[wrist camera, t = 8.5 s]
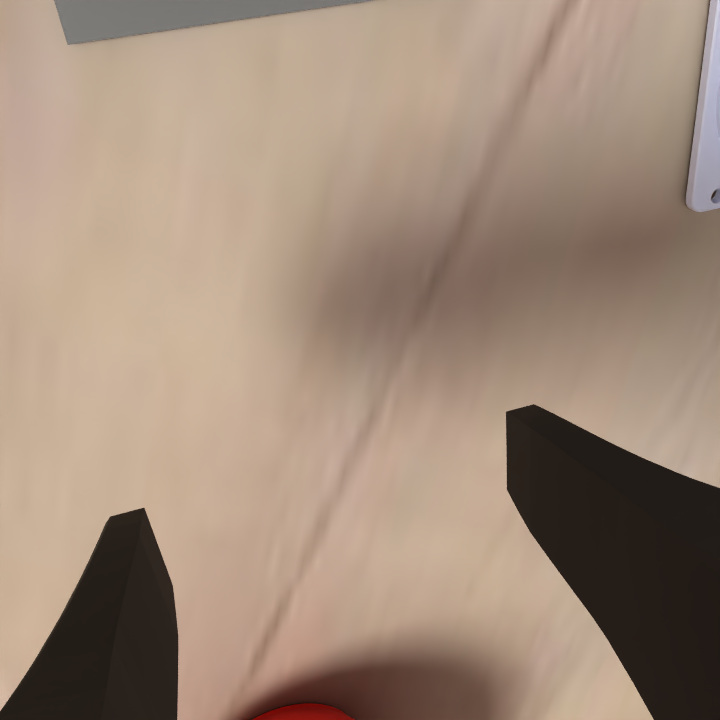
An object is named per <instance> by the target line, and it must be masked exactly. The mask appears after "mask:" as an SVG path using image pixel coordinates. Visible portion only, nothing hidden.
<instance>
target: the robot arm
mask: <svg viewBox="0 0 720 720" xmlns="http://www.w3.org/2000/svg"><path fill="white" fill-rule="evenodd" d="M715 190H716V194H715V196H714V197H713V198H712V199H711V196H712V193H713V192H714V191H715ZM686 205H687V206H688V208H690V209H691V210H694V211H696V212H705V211H710V210H714V209H719V208H720V0H710V9H709V17H708V25H707V33H706V41H705V49H704V57H703V65H702V73H701V81H700V89H699V97H698V105H697V113H696V121H695V129H694V137H693V145H692V153H691V161H690V169H689V177H688V185H687V193H686ZM506 439H507V491H508V492H509V494H510V496H511V498H512V500H513V502H514V504H515V506H516V508H517V509H518V511H519V513H520V515H521V517H522V519H523V520H524V522H525V524H526V526H527V527H528V529H529V531H530V532H531V534H532V535H533V537H534V538H535V539H536V541H537V542H538V544H539V545H540V546H541V548H542V549H543V550H544V552H545V553H546V555H547V556H548V557H549V559H550V560H551V562H552V563H553V564H554V566H555V567H556V568H557V570H558V571H559V572H560V574H561V575H562V576H563V578H564V579H565V580H566V582H567V583H568V585H569V586H570V587H571V589H572V590H573V591H574V593H575V594H576V595H577V597H578V598H579V599H580V601H581V602H582V603H583V605H584V606H585V608H586V609H587V610H588V612H589V613H590V614H591V616H592V617H593V618H594V620H595V621H596V623H597V624H598V626H599V627H600V629H601V630H602V632H603V633H604V635H605V636H606V638H607V639H608V641H609V643H610V644H611V646H612V648H613V649H614V651H615V653H616V654H617V656H618V658H619V659H620V661H621V663H622V665H623V666H624V668H625V670H626V671H627V673H628V675H629V676H630V678H631V680H632V681H633V683H634V685H635V687H636V689H637V690H638V692H639V694H640V696H641V697H642V699H643V701H644V703H645V705H646V706H647V708H648V710H649V712H650V713H651V715H652V717H653V719H654V720H720V488H717V487H715V486H712V485H709V484H706V483H703V482H700V481H697V480H695V479H692V478H689V477H687V476H684V475H682V474H679V473H677V472H674V471H672V470H669V469H667V468H665V467H662V466H660V465H658V464H655V463H653V462H651V461H648V460H646V459H644V458H642V457H639V456H637V455H635V454H633V453H631V452H629V451H626V450H624V449H622V448H620V447H618V446H616V445H614V444H612V443H610V442H608V441H606V440H604V439H602V438H600V437H598V436H596V435H594V434H592V433H590V432H588V431H586V430H584V429H582V428H580V427H578V426H576V425H574V424H572V423H571V422H569V421H567V420H565V419H563V418H561V417H559V416H557V415H555V414H553V413H551V412H549V411H547V410H545V409H543V408H541V407H539V406H536V405H534V404H533V405H530V406H526V407H522V408H518V409H515V410H511V411H507V412H506ZM177 698H178V629H177V619H176V610H175V601H174V592H173V585H172V582H171V580H170V577H169V574H168V571H167V569H166V566H165V563H164V560H163V558H162V555H161V552H160V549H159V547H158V544H157V541H156V539H155V536H154V533H153V530H152V528H151V525H150V522H149V519H148V517H147V514H146V511H145V508H141V509H138V510H134V511H130V512H126V513H122V514H119V515H115V516H111V517H110V518H109V519H108V521H107V522H106V524H105V526H104V529H103V531H102V533H101V535H100V538H99V540H98V542H97V544H96V547H95V549H94V551H93V553H92V555H91V557H90V560H89V562H88V564H87V566H86V568H85V570H84V572H83V574H82V576H81V578H80V580H79V582H78V584H77V586H76V588H75V590H74V592H73V594H72V596H71V598H70V599H69V601H68V603H67V605H66V607H65V609H64V611H63V613H62V615H61V616H60V618H59V620H58V622H57V623H56V625H55V627H54V629H53V630H52V632H51V634H50V635H49V637H48V639H47V640H46V642H45V644H44V646H43V647H42V649H41V651H40V652H39V654H38V656H37V657H36V659H35V661H34V662H33V664H32V665H31V667H30V668H29V670H28V672H27V673H26V675H25V676H24V678H23V679H22V681H21V682H20V684H19V685H18V687H17V688H16V690H15V691H14V692H13V694H12V695H11V697H10V698H9V700H8V701H7V702H6V704H5V705H4V707H3V708H2V710H1V711H0V720H177Z"/></svg>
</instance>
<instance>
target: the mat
mask: <svg viewBox="0 0 720 720" xmlns="http://www.w3.org/2000/svg"><path fill="white" fill-rule="evenodd" d="M54 1H55V4H56V8H57V11H58V14H59V18H60V21H61V24H62V28H63V31H64V34H65V37H66V41H67V44H68V45H70V44H77V43H83V42H90V41H97V40H104V39H111V38H118V37H125V36H131V35H138V34H145V33H152V32H159V31H166V30H173V29H179V28H186V27H193V26H200V25H207V24H214V23H220V22H227V21H234V20H241V19H248V18H255V17H262V16H268V15H275V14H282V13H289V12H296V11H303V10H309V9H316V8H323V7H330V6H337V5H344V4H351V3H357V2H364V1H371V0H54Z"/></svg>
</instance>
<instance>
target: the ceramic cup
mask: <svg viewBox="0 0 720 720" xmlns="http://www.w3.org/2000/svg"><path fill="white" fill-rule="evenodd" d="M252 720H355V719H353V718H351V717H349V716H347V715H346V714H345V713H344V712H342V711H341V710H339V709H336V708H334V707H332V706H327V705H323V704H311V703H306V704H295V705H290V706H285V707H281V708H278V709H275V710H272V711H269V712H266V713H264V714H262V715H260V716H258V717H256V718H254V719H252Z"/></svg>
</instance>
